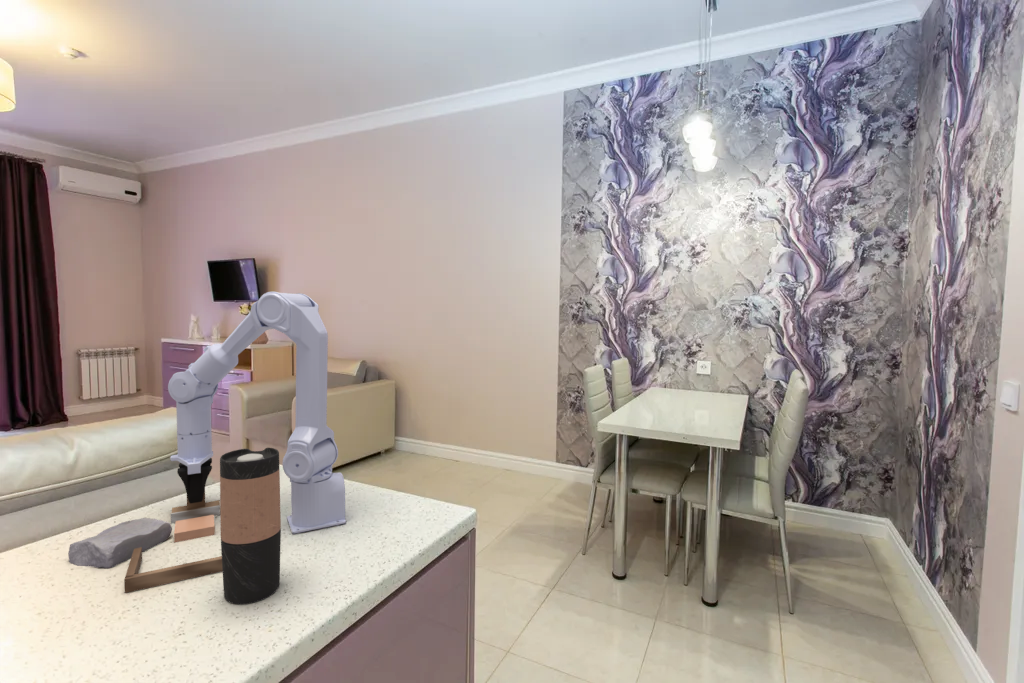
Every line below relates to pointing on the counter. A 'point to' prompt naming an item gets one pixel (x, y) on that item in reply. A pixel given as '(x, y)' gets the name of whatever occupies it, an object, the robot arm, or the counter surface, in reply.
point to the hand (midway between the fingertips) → (196, 499)
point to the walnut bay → (166, 572)
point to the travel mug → (250, 524)
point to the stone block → (119, 543)
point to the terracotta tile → (194, 528)
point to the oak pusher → (195, 510)
